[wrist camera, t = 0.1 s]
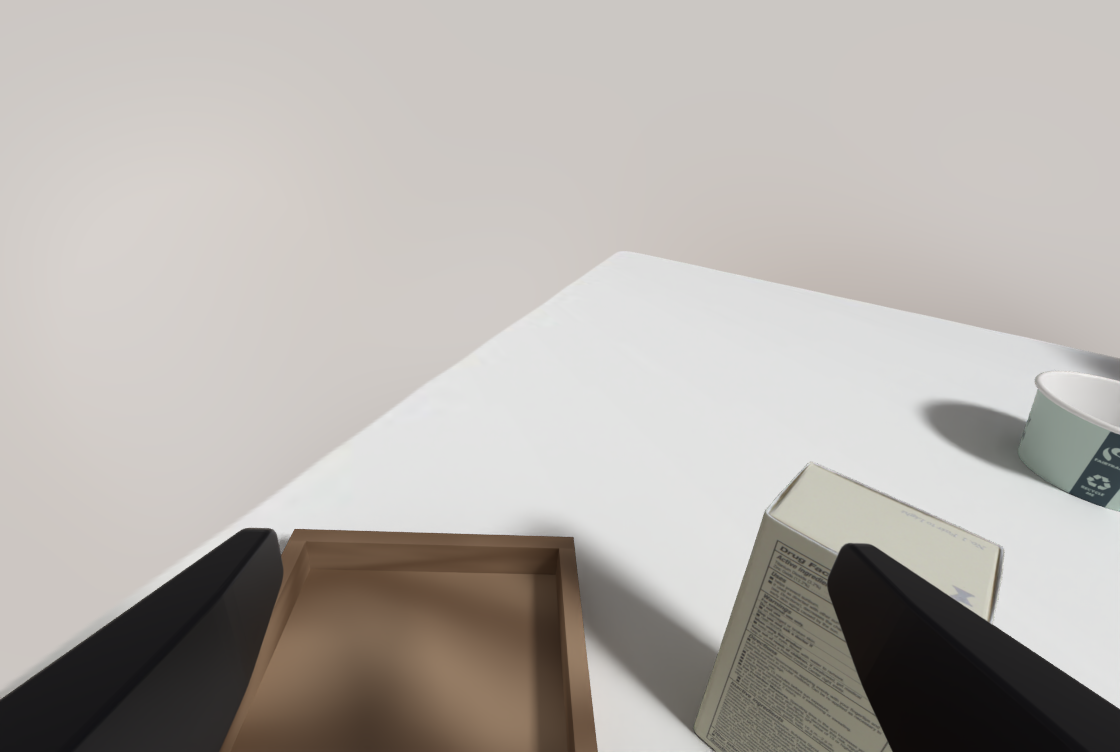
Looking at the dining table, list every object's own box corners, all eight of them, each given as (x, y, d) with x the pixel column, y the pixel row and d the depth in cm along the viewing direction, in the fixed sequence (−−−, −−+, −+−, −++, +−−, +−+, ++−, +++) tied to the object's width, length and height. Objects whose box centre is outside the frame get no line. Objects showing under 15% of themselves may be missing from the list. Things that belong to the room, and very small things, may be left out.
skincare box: (870, 764, 22) (1018, 549, 16) (836, 863, 19) (1003, 640, 13) (730, 661, 26) (812, 454, 20) (682, 731, 23) (763, 509, 17)
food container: (1012, 419, 51) (1048, 357, 48) (1189, 487, 44) (1245, 418, 41) (982, 465, 43) (1023, 395, 40) (1191, 556, 36) (1260, 478, 33)
